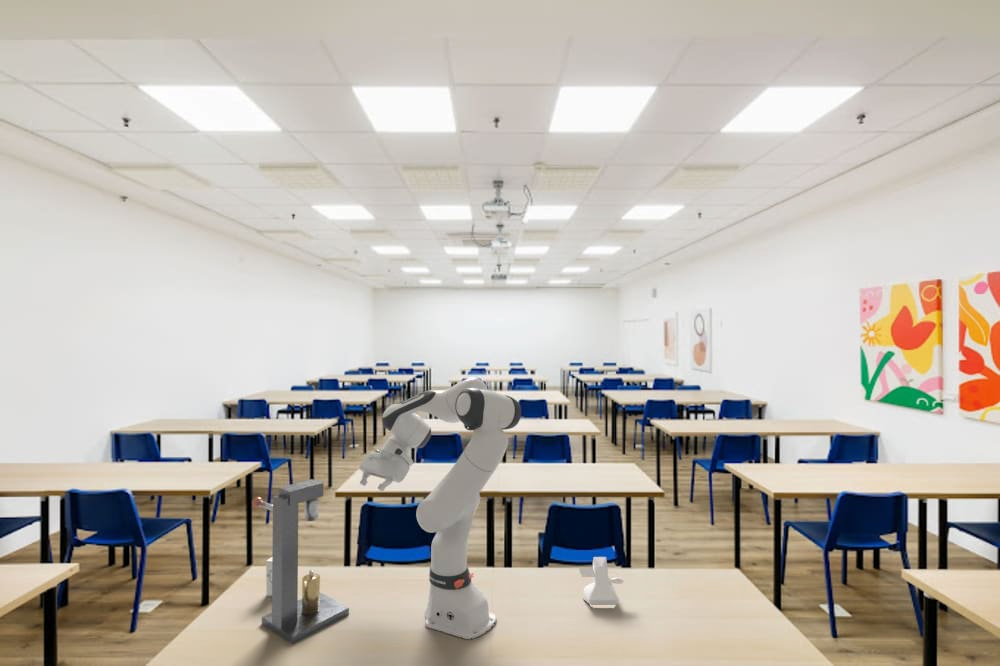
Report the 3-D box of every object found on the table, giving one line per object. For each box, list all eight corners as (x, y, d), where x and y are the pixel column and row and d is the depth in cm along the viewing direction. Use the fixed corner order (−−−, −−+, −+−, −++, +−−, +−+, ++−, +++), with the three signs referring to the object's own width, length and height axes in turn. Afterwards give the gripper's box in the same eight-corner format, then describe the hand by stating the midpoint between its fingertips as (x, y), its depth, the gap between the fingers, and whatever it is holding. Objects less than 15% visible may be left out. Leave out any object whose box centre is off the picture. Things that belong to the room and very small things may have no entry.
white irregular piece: (626, 610, 164) (627, 567, 163) (582, 610, 163) (583, 567, 163) (620, 596, 172) (620, 555, 172) (578, 596, 172) (578, 555, 172)
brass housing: (322, 609, 158) (323, 570, 158) (308, 616, 154) (309, 576, 154) (312, 603, 161) (313, 565, 161) (298, 610, 157) (299, 571, 157)
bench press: (348, 614, 159) (350, 481, 159) (292, 643, 144) (293, 497, 144) (302, 589, 174) (303, 467, 174) (246, 613, 159) (247, 480, 159)
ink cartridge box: (281, 583, 178) (281, 540, 178) (294, 585, 177) (294, 542, 177) (265, 596, 170) (265, 551, 170) (278, 597, 169) (279, 552, 169)
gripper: (369, 444, 190) (346, 476, 183) (407, 452, 178) (385, 487, 170) (378, 454, 194) (356, 486, 186) (417, 463, 182) (395, 498, 174)
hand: (370, 487), depth 178 cm, fingers open, 8 cm apart
